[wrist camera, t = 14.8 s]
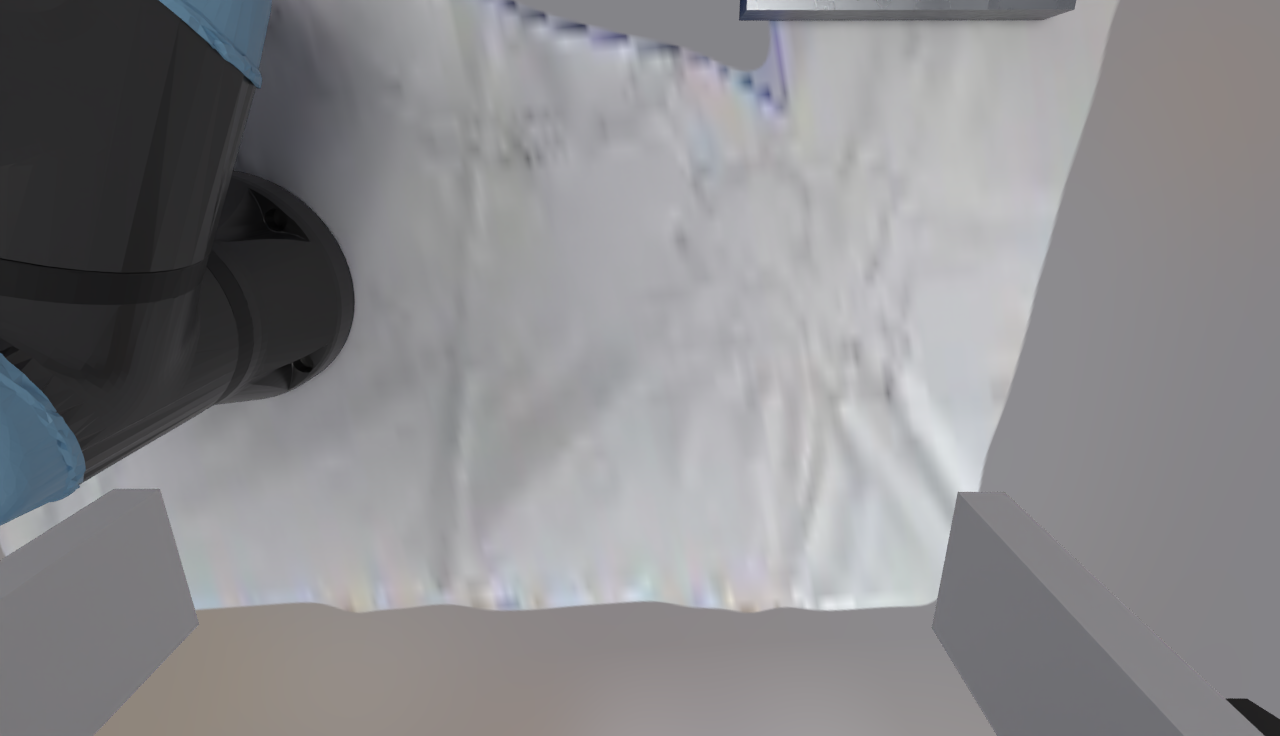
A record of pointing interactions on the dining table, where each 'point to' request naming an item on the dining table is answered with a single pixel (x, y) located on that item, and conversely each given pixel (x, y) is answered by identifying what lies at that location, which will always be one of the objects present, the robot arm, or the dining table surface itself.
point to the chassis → (903, 9)
